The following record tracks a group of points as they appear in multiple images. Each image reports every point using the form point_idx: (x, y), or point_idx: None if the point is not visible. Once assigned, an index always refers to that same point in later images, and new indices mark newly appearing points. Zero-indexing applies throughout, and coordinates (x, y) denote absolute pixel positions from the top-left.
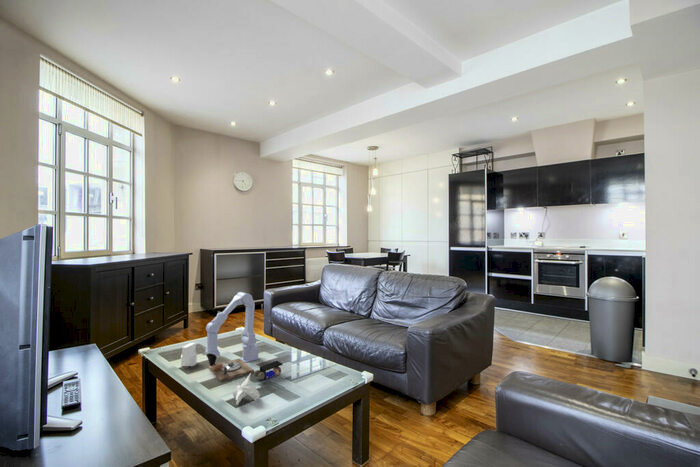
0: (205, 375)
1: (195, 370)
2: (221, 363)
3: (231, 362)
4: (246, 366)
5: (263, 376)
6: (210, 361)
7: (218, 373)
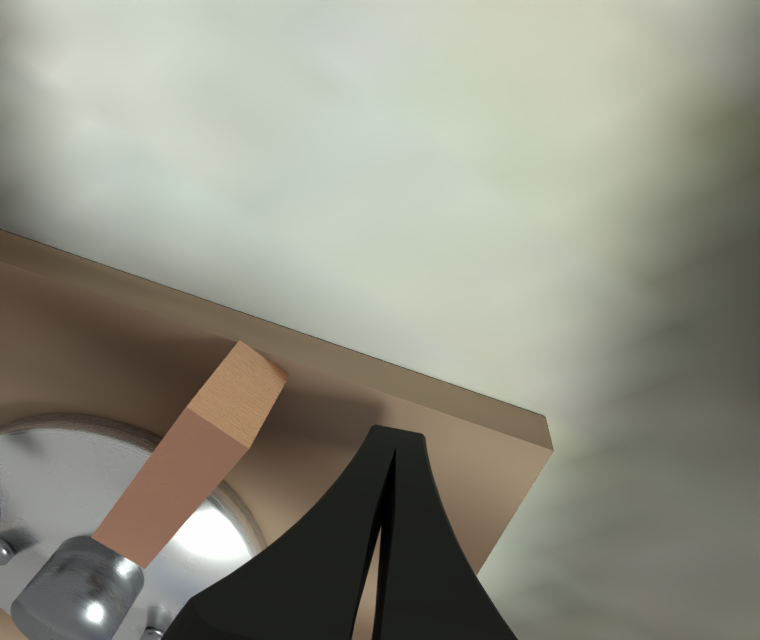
0: (272, 171)
1: (744, 221)
2: (143, 549)
3: (59, 635)
4: (17, 635)
5: None
6: (335, 499)
7: (16, 306)
